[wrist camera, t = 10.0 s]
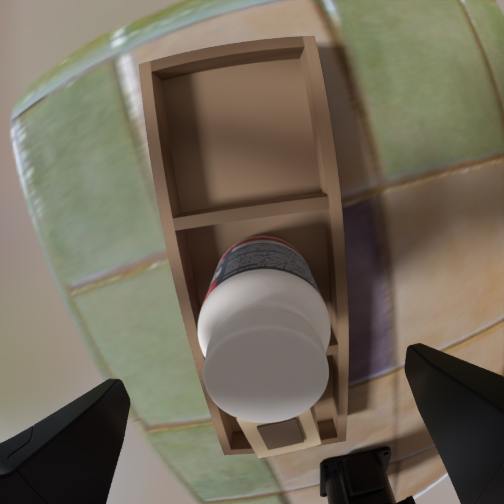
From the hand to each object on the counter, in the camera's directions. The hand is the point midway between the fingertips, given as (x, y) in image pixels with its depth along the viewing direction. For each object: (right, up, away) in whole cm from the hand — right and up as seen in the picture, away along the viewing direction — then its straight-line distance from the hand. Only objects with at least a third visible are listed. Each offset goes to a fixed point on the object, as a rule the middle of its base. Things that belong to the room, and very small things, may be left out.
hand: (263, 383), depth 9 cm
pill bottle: (0, +2, +9) cm, 10 cm away
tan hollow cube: (+1, -5, +11) cm, 12 cm away
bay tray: (0, +2, +10) cm, 10 cm away
